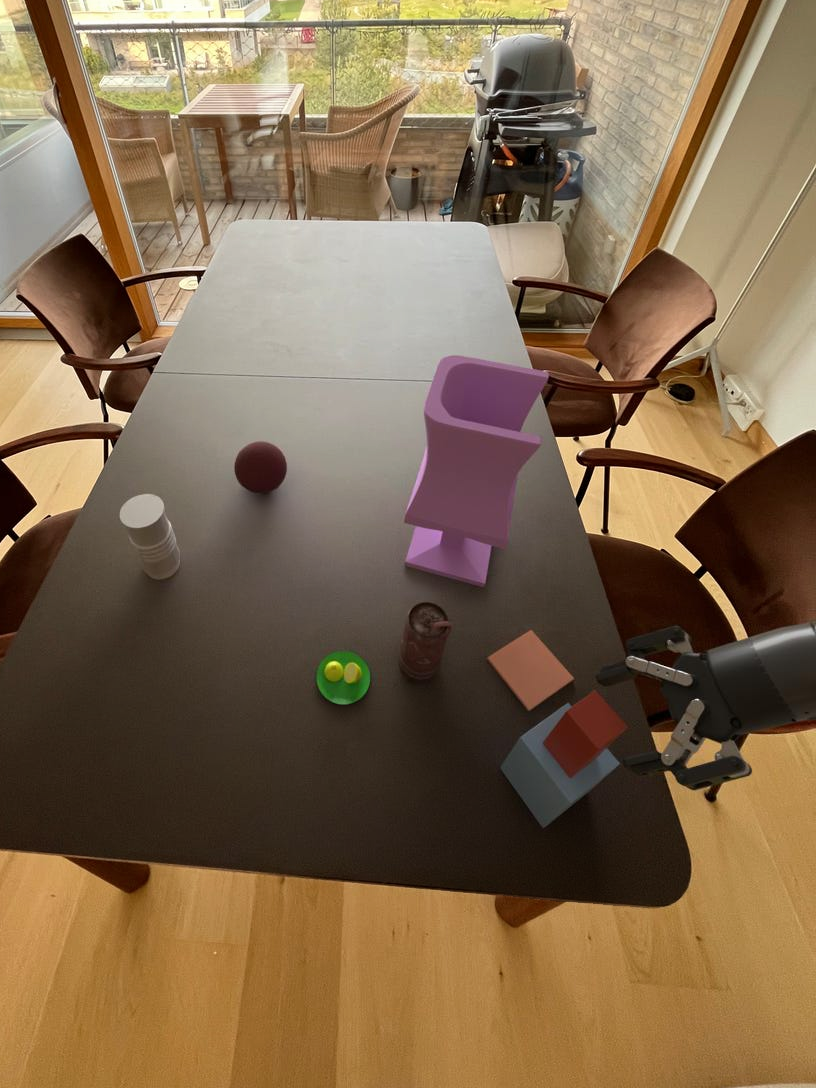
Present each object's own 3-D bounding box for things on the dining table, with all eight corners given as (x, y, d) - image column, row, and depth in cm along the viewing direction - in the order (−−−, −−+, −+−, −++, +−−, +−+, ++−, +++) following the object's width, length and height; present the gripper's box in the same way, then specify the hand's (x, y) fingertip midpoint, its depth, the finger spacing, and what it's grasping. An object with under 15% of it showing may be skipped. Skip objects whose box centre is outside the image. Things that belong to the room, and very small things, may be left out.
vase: (488, 593, 95) (542, 445, 70) (397, 568, 99) (418, 418, 74) (500, 522, 105) (550, 371, 81) (417, 502, 109) (441, 351, 84)
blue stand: (588, 792, 74) (620, 763, 66) (543, 828, 72) (570, 803, 63) (543, 736, 79) (568, 702, 71) (499, 768, 76) (520, 737, 68)
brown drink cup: (442, 685, 84) (456, 641, 74) (399, 684, 84) (407, 640, 74) (437, 646, 89) (450, 599, 79) (396, 645, 89) (404, 599, 79)
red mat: (573, 680, 85) (574, 678, 84) (528, 711, 82) (529, 710, 81) (530, 631, 90) (531, 629, 90) (486, 659, 87) (487, 657, 87)
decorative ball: (280, 508, 108) (276, 472, 101) (230, 499, 110) (222, 463, 102) (294, 470, 115) (291, 434, 108) (247, 462, 116) (241, 427, 109)
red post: (597, 757, 66) (628, 726, 59) (570, 778, 65) (598, 749, 58) (568, 723, 69) (595, 689, 62) (542, 743, 68) (566, 711, 60)
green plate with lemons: (365, 649, 88) (366, 641, 86) (374, 702, 83) (375, 694, 81) (314, 656, 88) (313, 647, 86) (319, 709, 82) (318, 701, 80)
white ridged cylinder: (133, 569, 99) (109, 515, 88) (163, 542, 103) (143, 487, 92) (161, 589, 96) (139, 535, 85) (191, 560, 100) (173, 505, 89)
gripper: (727, 592, 56) (574, 646, 64) (813, 750, 45) (619, 790, 54) (753, 619, 59) (606, 666, 67) (838, 770, 49) (653, 805, 57)
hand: (612, 721), depth 60 cm, fingers open, 8 cm apart
